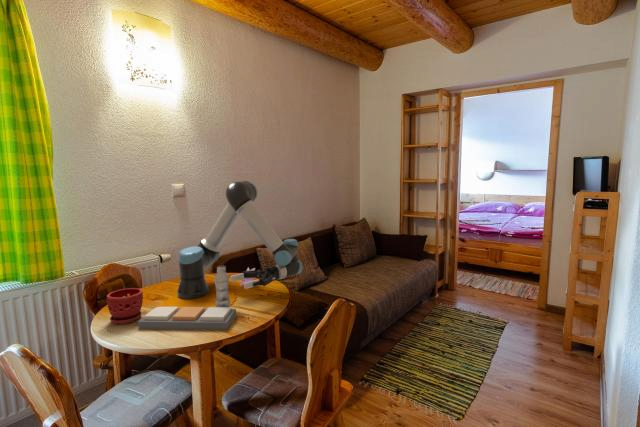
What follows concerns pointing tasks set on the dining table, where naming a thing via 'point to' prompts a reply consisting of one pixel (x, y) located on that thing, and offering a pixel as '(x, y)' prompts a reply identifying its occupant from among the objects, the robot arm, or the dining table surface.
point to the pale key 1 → (161, 313)
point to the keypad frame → (188, 323)
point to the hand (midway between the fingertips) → (238, 282)
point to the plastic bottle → (222, 287)
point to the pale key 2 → (215, 314)
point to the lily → (247, 279)
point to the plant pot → (125, 305)
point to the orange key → (188, 313)
